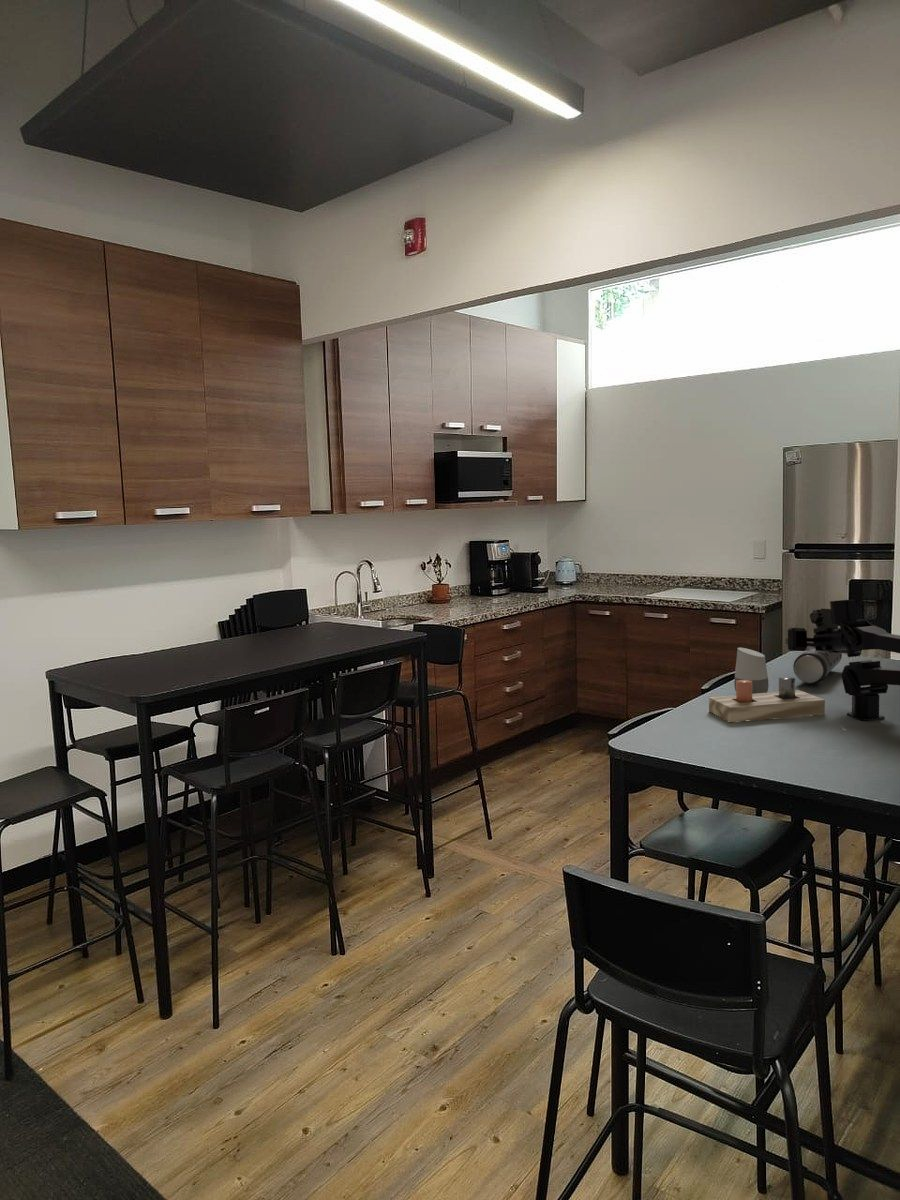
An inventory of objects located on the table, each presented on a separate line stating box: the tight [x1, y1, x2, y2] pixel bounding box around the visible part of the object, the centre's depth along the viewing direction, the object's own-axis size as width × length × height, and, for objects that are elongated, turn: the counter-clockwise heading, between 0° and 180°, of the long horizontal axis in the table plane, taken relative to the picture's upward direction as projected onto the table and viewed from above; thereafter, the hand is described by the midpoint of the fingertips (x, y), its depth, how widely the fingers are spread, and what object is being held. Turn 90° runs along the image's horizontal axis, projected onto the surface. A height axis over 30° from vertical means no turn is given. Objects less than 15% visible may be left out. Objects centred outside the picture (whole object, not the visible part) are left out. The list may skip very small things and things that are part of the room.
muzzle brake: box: [793, 647, 843, 685], centre depth 253 cm, size 10×28×10 cm, turn 145°
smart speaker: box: [733, 647, 769, 694], centre depth 234 cm, size 10×9×14 cm
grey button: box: [778, 676, 796, 700], centre depth 215 cm, size 4×4×6 cm
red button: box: [735, 680, 752, 703], centre depth 214 cm, size 4×4×6 cm
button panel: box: [708, 689, 826, 723], centre depth 215 cm, size 12×26×4 cm, turn 98°
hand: (800, 641), depth 230 cm, fingers open, 9 cm apart
